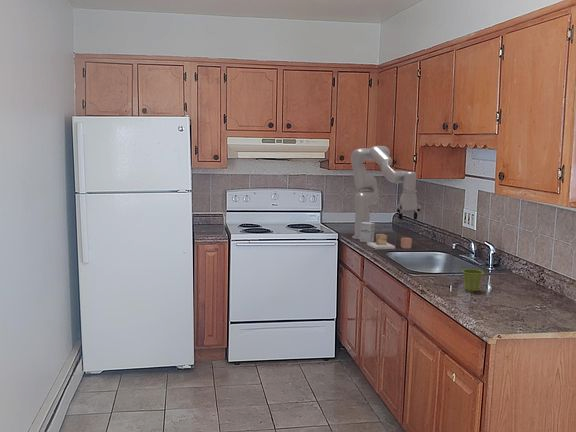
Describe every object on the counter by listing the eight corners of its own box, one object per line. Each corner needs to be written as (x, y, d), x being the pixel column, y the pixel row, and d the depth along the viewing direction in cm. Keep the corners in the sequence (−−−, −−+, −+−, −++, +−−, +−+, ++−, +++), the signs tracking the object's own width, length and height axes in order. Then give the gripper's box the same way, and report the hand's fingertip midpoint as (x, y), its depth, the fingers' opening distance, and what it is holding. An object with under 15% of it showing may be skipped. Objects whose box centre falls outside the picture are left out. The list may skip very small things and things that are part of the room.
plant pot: (479, 293, 272) (480, 274, 271) (458, 290, 277) (459, 271, 276) (484, 289, 280) (486, 270, 278) (464, 286, 285) (465, 268, 283)
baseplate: (367, 244, 387) (367, 242, 387) (386, 244, 390) (386, 242, 390) (375, 248, 374) (375, 246, 374) (395, 248, 377) (395, 246, 377)
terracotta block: (400, 247, 384) (401, 237, 383) (408, 246, 385) (408, 237, 384) (403, 248, 379) (404, 238, 378) (411, 248, 380) (411, 238, 379)
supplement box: (359, 242, 397) (360, 222, 396) (363, 240, 404) (364, 221, 402) (370, 243, 394) (371, 223, 392) (374, 241, 400) (375, 222, 399)
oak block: (375, 243, 384) (376, 234, 383) (383, 243, 385) (383, 234, 384) (378, 245, 379) (379, 235, 378) (386, 244, 380) (386, 235, 379)
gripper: (419, 191, 383) (418, 218, 385) (393, 191, 379) (392, 218, 381) (424, 192, 376) (423, 220, 378) (398, 192, 372) (397, 220, 374)
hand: (407, 219), depth 379 cm, fingers open, 9 cm apart
